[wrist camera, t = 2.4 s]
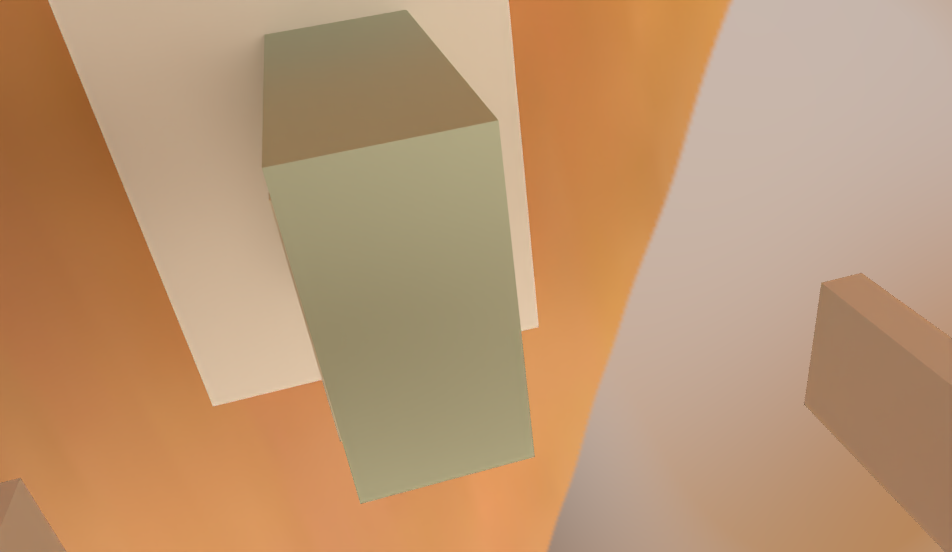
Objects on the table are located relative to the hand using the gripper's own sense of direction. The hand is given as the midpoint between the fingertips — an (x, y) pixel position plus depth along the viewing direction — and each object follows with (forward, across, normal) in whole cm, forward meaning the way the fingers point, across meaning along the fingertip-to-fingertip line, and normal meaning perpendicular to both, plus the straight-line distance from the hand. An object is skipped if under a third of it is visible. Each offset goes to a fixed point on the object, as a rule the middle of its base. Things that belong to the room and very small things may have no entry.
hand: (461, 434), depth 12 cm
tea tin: (+13, 0, 0) cm, 13 cm away
